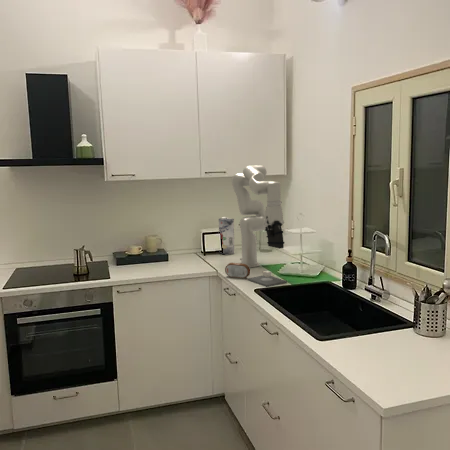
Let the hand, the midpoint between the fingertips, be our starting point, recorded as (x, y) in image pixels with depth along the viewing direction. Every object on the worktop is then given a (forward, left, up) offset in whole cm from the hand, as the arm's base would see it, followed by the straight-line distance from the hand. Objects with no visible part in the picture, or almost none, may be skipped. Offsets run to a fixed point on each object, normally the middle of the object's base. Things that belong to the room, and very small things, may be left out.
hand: (274, 235), depth 269 cm
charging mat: (+3, -8, -24) cm, 26 cm away
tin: (-14, -16, -25) cm, 33 cm away
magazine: (0, 0, -7) cm, 7 cm away
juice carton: (-76, +16, -25) cm, 81 cm away
